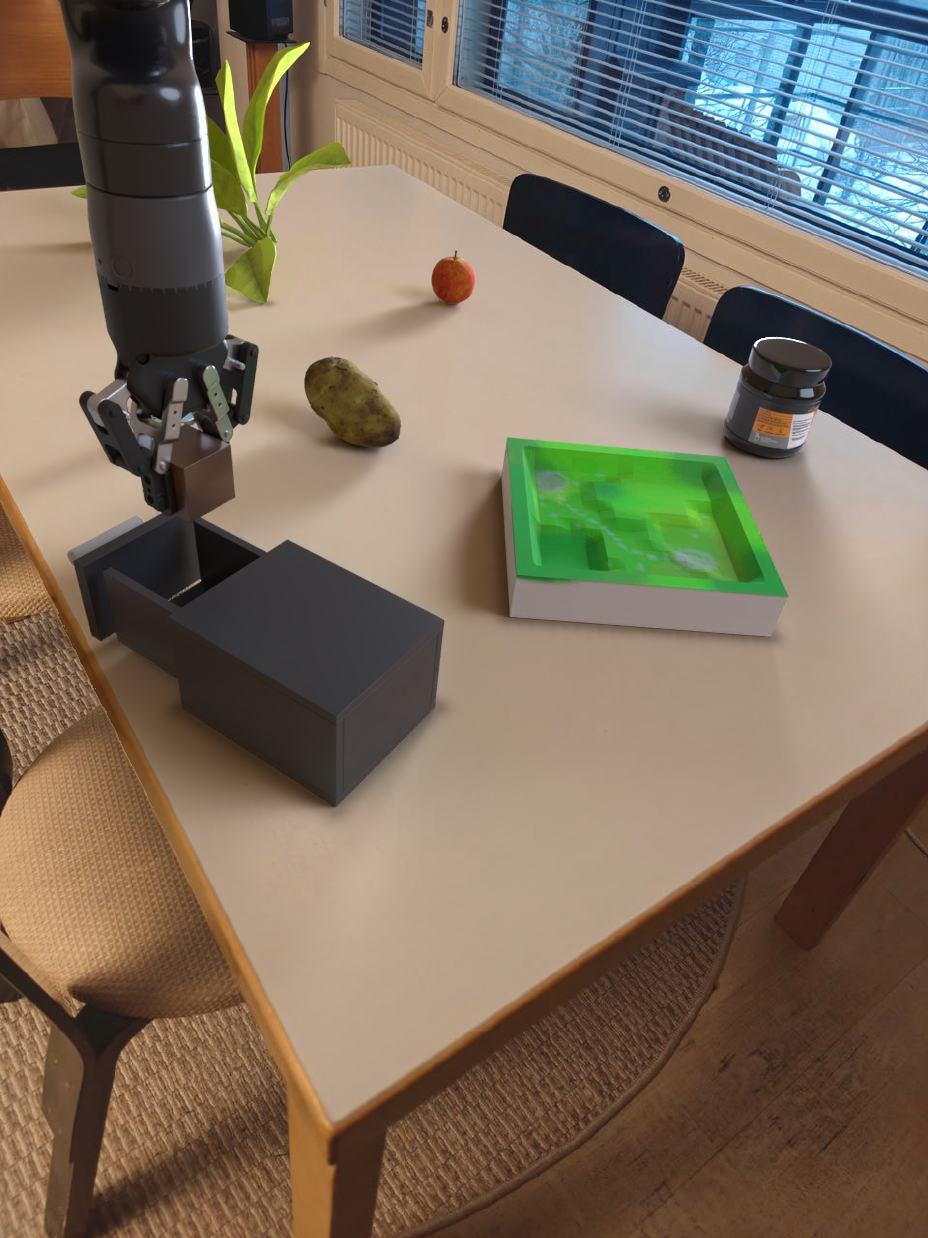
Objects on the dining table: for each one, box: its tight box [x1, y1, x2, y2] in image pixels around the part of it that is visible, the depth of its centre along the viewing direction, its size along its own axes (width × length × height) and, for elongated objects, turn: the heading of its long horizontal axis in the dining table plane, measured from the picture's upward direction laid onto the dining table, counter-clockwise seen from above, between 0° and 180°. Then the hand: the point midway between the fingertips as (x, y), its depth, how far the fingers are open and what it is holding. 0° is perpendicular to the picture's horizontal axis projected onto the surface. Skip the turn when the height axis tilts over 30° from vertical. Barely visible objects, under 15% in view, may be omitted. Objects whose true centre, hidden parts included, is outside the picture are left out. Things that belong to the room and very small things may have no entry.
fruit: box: [430, 250, 476, 306], centre depth 136 cm, size 7×7×8 cm
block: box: [151, 423, 236, 523], centre depth 63 cm, size 4×4×4 cm
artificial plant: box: [70, 41, 352, 305], centre depth 133 cm, size 42×43×30 cm
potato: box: [303, 355, 402, 448], centre depth 101 cm, size 8×13×8 cm, turn 34°
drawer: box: [66, 512, 268, 679], centre depth 71 cm, size 19×11×8 cm, turn 57°
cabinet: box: [168, 539, 446, 808], centre depth 66 cm, size 16×13×10 cm
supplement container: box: [722, 337, 833, 459], centre depth 108 cm, size 10×10×12 cm
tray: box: [500, 436, 789, 638], centre depth 89 cm, size 25×25×5 cm
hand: (190, 495), depth 64 cm, fingers closed on block, 4 cm apart
